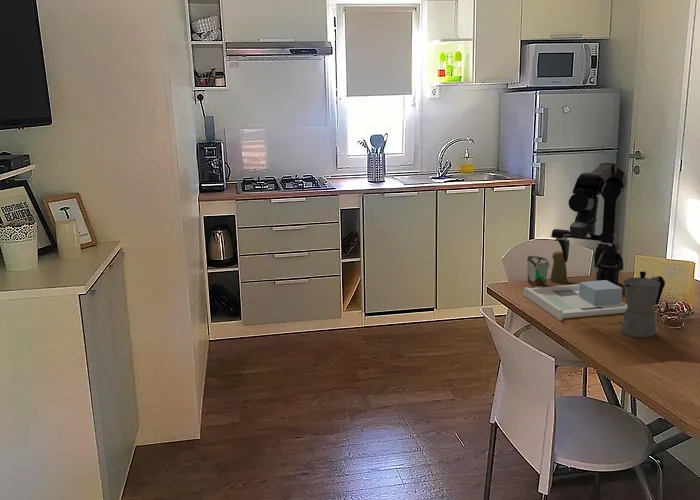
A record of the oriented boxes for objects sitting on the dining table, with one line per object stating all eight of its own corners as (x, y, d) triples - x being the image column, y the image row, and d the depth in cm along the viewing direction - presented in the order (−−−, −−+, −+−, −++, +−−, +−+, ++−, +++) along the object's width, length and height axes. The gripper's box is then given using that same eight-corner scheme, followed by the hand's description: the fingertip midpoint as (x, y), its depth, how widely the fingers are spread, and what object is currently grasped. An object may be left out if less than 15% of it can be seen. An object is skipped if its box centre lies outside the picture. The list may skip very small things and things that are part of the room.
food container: (553, 291, 221) (554, 263, 219) (535, 292, 221) (536, 264, 219) (543, 281, 233) (544, 255, 231) (526, 282, 233) (527, 255, 231)
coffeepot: (634, 341, 175) (639, 279, 171) (608, 331, 184) (612, 271, 179) (674, 332, 181) (679, 271, 177) (646, 322, 190) (651, 263, 186)
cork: (565, 278, 236) (566, 249, 234) (569, 283, 230) (570, 253, 228) (548, 278, 237) (549, 249, 234) (551, 283, 231) (553, 253, 228)
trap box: (593, 289, 222) (594, 280, 222) (639, 313, 197) (639, 304, 196) (523, 295, 218) (523, 286, 218) (560, 320, 193) (561, 311, 192)
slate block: (605, 294, 214) (606, 280, 213) (621, 302, 205) (622, 288, 204) (578, 296, 212) (579, 282, 211) (593, 305, 203) (594, 290, 202)
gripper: (548, 210, 196) (542, 260, 197) (611, 215, 185) (605, 268, 186) (559, 212, 205) (554, 260, 206) (621, 217, 194) (614, 268, 195)
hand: (580, 264), depth 198 cm, fingers open, 9 cm apart
